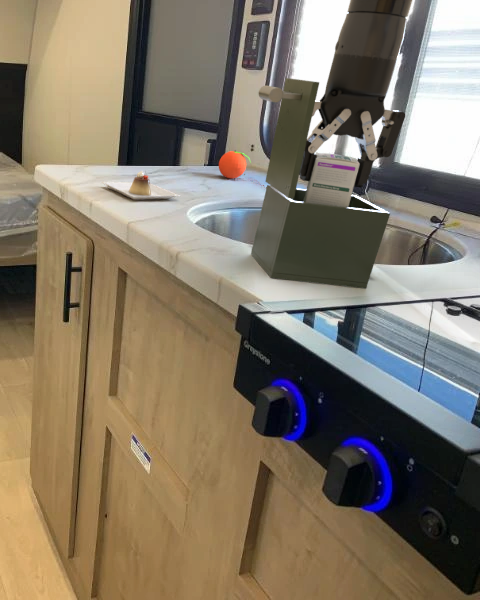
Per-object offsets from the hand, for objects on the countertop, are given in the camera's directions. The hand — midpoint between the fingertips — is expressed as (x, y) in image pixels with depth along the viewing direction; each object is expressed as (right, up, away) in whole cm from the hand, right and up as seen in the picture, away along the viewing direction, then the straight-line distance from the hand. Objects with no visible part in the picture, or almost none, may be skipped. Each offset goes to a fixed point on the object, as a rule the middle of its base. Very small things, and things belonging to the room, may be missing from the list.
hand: (330, 182), depth 83 cm
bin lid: (-6, +6, -2) cm, 9 cm away
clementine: (+4, +15, +72) cm, 74 cm away
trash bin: (-2, -12, +5) cm, 13 cm away
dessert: (-22, +6, +41) cm, 47 cm away
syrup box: (-1, -10, +4) cm, 11 cm away
